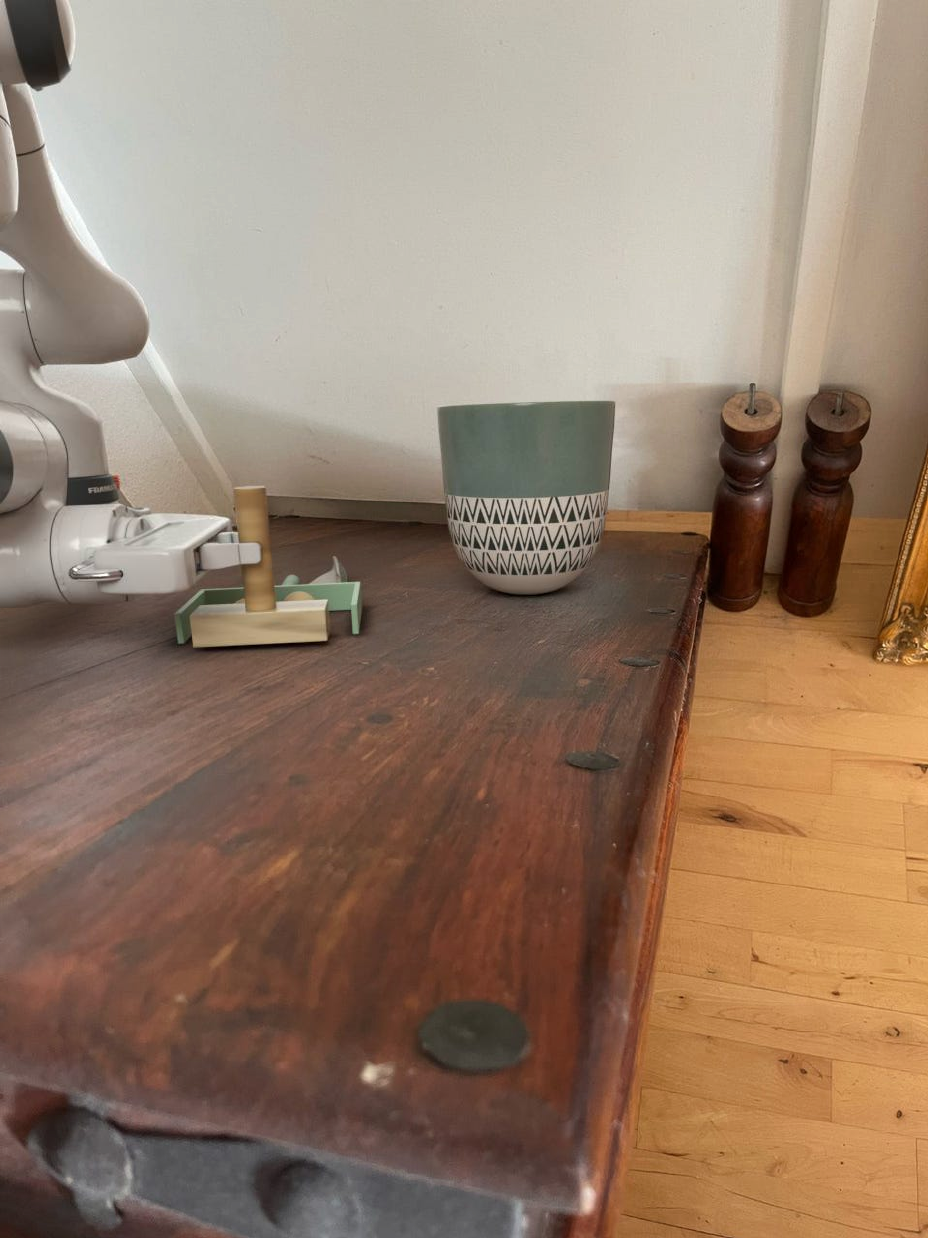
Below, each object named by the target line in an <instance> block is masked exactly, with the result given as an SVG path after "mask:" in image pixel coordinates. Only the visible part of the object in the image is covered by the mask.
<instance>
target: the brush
mask: <svg viewBox="0 0 928 1238" xmlns="http://www.w3.org/2000/svg"><path fill="white" fill-rule="evenodd" d="M232 491H233V493H232V494H233V500H234V501H233V502H234V512H235V520H236V528H237V530H236V532H238V541H239V543H240V542H242V541H259V542H261V544H262V548H263V558H262V559H261V561H260V562H259V563H257V564H240V569H241V577H242V578H241V579H242V587H243V589H244V599H245V603H239V604H217V605H200V606H199V607H198V608H197V609H196V610H195V611H194V612H193V613H192V614H191V615H190V624H191V633H192V635H191V639H192V641H191V642H192V647H193V648H194V649H195V648H209V647H210V648H213V647H232V646H234V647H235V646H253V645H273V644H274V645H275V644H291V643H311V642H312V643H313V642H327V641H328V639H329V635H330V631H331V620H330V618H331V617H330V611H329V604H328V600H305V601H283V602H276V593H275V586H276V583H275V573H274V562H273V553H272V541H271V529H270V518H269V507H268V496H267V487H266V486H265V485H245V486H235V487H232Z"/></svg>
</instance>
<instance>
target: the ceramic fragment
mask: <svg viewBox="0 0 928 1238" xmlns="http://www.w3.org/2000/svg"><path fill="white" fill-rule="evenodd" d="M344 582H348V575H347V571H346V569H345V567H344V566H343V565H342V563H341V562H340V560H339V559H338V557H337V556H335V555H333V556H332V569H331V570H330V571H328V572H325V573H323V574H322V575H320V576H318V577H316V578H315V579H314V580H313V581H311V582H309V584H324V583H344Z"/></svg>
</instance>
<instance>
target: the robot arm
mask: <svg viewBox="0 0 928 1238" xmlns="http://www.w3.org/2000/svg"><path fill="white" fill-rule="evenodd" d="M75 50H76V24H75V20H74V15H73V10H72V8H71V4H70V2H69V0H0V252H2V253H4V254H6V255H7V256H8V257H10V258H11V259H12V260H14V261H15V262H16V263H18V265H19V266H20V267H21V268H22V269H11V268H10V269H8V268H0V609H21V608H31V607H32V606H36V605H39V604H43V603H59V604H63V605H68V606H84V605H105V604H107V605H109V604H126V603H128V604H129V603H132V602H134V600H135V599H136V598H138V596H139V595H173V594H178V593H183V592H186V591H189V590H190V589H191V588H192V587H193V586H195V585H196V584H197V583H198V582H199V581H200V580H202V578H204V577H205V576H206V575H207V574H208V573H209V572H211V571H212V570H220V569H225V568H231V567H235V566H241V564H257V563H259V562H260V561H261V559H262V558H263V548H262V544H261V542H259V541H242V542H240V543H239V541H238V531H234V530H233V522H232V520H231V519H230V518H229V517H225V516H220V515H214V514H213V515H211V514H197V513H196V514H195V513H194V514H193V513H191V514H190V513H166V512H165V513H163V512H162V513H152V511H151V509H150V508H149V507H130V506H126V505H125V504H122V503H120V502H119V500H120V495H119V490H120V489H121V480H120V478H119V475H117V474H115V475H112V474H111V473H110V467H109V462H108V456H107V448H106V442H105V435H104V430H103V429H104V428H103V423H102V419H101V418H100V416H99V415H98V413H97V412H96V411H95V409H93V407H91V406H90V405H89V404H87V403H86V402H84V401H82V400H80V399H78V398H76V397H74V396H72V395H70V394H67V393H65V392H62V391H60V390H58V389H54V388H53V387H51V386H49V384H48V383H47V382H46V380H45V379H44V377H43V374H42V369H41V367H43V366H54V365H55V366H57V365H59V366H61V365H62V366H63V365H64V366H65V365H66V366H67V365H68V366H70V365H71V366H73V365H74V366H75V365H105V364H110V363H116V362H121V361H126V360H129V359H130V360H131V359H133V358H137V357H138V356H139V355H140V354H141V352H142V351H143V349H144V348H145V346H146V344H147V342H148V340H149V339H148V338H149V335H150V317H149V313H148V309H147V306H146V304H145V302H144V300H143V298H142V296H141V295H140V293H139V292H138V290H137V289H136V288H135V287H134V286H133V285H132V283H130V282H129V281H128V280H127V279H125V278H124V277H122V276H120V275H119V274H117V273H115V272H114V271H112V270H111V269H110V268H109V267H107V266H106V265H104V264H103V263H102V262H101V261H100V260H99V259H98V258H97V257H96V256H95V255H94V254H93V253H92V252H91V251H90V250H89V249H88V247H87V246H86V245H85V244H84V243H83V242H82V240H81V239H80V237H79V236H78V235H77V232H76V231H75V229H74V228H73V227H72V224H71V222H70V221H69V218H68V217H67V214H66V211H65V209H64V206H63V202H62V200H61V196H60V194H59V190H58V187H57V184H56V180H55V176H54V172H53V169H52V167H51V165H52V164H51V162H50V157H49V153H48V150H47V144H46V141H45V136H44V133H43V127H42V125H41V120H40V118H39V114H38V111H37V108H36V104H35V101H34V98H33V95H32V92H31V89H32V90H34V91H36V92H41V91H43V90H44V88H46V87H51V86H54V85H58V84H60V83H62V81H64V79H66V77H67V76H68V75H69V74H70V72H71V71H72V68H73V67H72V66H73V65H72V61H73V58H74V53H75ZM30 88H31V89H30Z"/></svg>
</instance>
